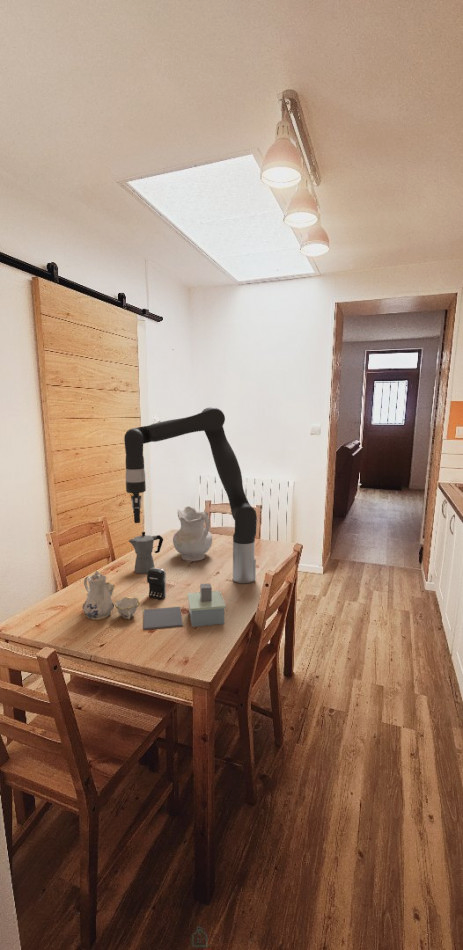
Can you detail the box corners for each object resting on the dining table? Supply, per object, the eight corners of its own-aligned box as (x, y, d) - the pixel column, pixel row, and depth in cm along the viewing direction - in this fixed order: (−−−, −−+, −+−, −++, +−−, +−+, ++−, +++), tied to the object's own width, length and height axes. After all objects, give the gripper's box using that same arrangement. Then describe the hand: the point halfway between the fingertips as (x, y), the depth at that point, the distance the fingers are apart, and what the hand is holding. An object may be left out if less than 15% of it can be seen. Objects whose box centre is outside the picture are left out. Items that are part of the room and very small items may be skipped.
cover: (220, 592, 152) (220, 577, 151) (225, 608, 140) (225, 591, 139) (187, 595, 149) (187, 580, 149) (190, 611, 138) (190, 594, 137)
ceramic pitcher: (223, 558, 206) (225, 509, 204) (199, 568, 190) (201, 514, 188) (189, 550, 218) (190, 503, 215) (164, 559, 201) (165, 508, 199)
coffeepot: (131, 576, 181) (130, 536, 178) (128, 568, 190) (126, 530, 187) (166, 571, 187) (165, 532, 184) (161, 563, 196) (160, 527, 193)
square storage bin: (219, 608, 152) (219, 593, 151) (224, 623, 141) (224, 607, 140) (189, 611, 150) (188, 595, 149) (191, 626, 139) (191, 610, 138)
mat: (180, 608, 152) (180, 606, 152) (182, 626, 140) (182, 624, 140) (144, 611, 150) (144, 609, 150) (143, 629, 137) (143, 628, 137)
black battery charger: (146, 598, 160) (145, 570, 159) (151, 593, 164) (150, 566, 162) (162, 600, 158) (161, 572, 156) (166, 596, 162) (166, 568, 160)
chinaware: (148, 619, 147) (151, 574, 146) (107, 634, 135) (110, 584, 133) (103, 596, 165) (105, 555, 164) (63, 607, 152) (65, 563, 151)
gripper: (145, 482, 156) (147, 524, 159) (144, 476, 170) (146, 515, 172) (125, 483, 154) (127, 525, 157) (126, 477, 168) (127, 516, 171)
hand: (137, 520), depth 165 cm, fingers open, 8 cm apart
